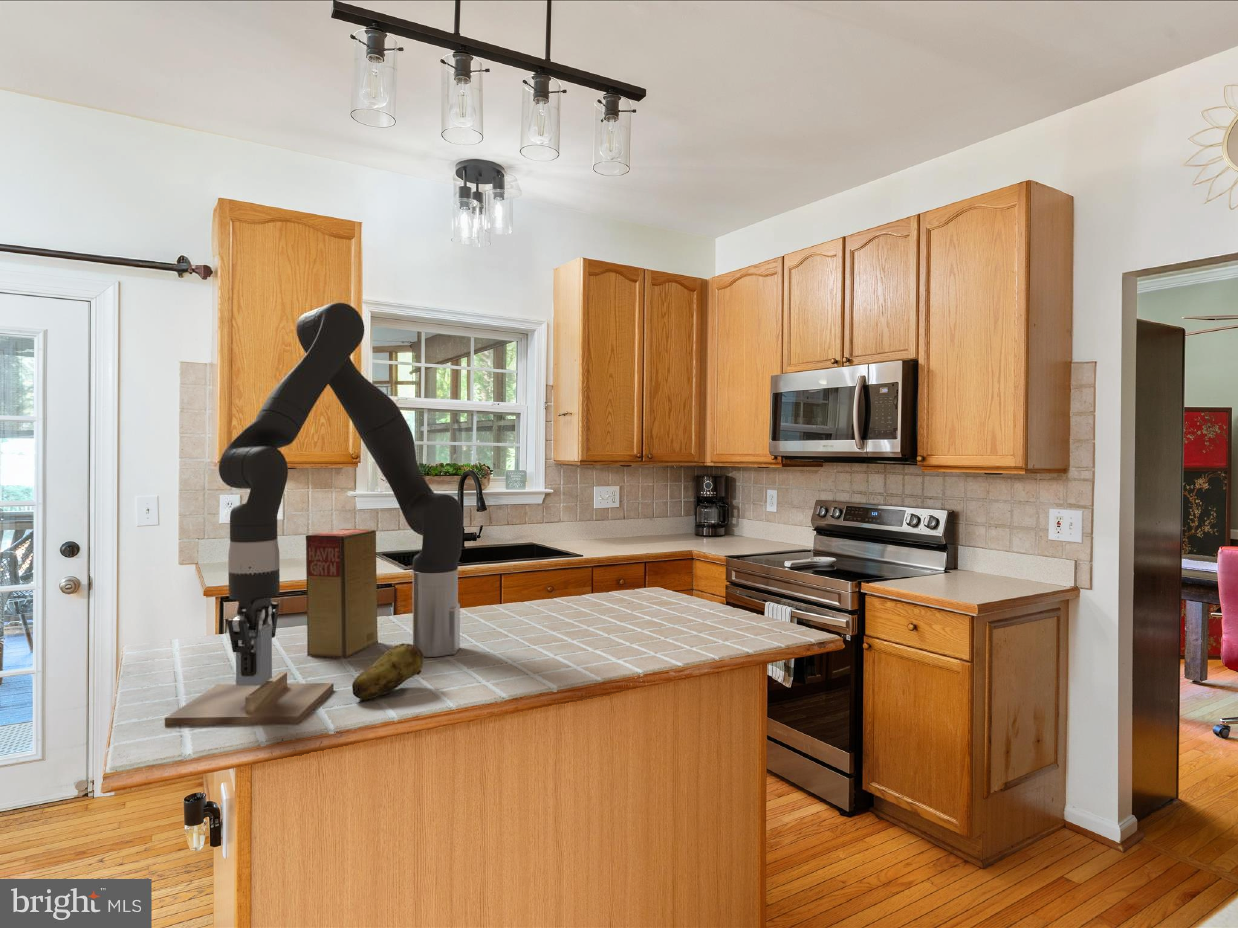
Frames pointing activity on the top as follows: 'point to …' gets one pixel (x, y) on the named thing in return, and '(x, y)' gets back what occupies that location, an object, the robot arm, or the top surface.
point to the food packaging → (341, 592)
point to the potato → (388, 671)
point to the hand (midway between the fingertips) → (255, 670)
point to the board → (252, 704)
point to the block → (258, 660)
